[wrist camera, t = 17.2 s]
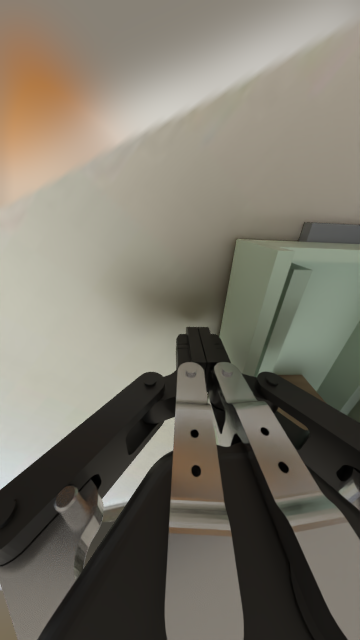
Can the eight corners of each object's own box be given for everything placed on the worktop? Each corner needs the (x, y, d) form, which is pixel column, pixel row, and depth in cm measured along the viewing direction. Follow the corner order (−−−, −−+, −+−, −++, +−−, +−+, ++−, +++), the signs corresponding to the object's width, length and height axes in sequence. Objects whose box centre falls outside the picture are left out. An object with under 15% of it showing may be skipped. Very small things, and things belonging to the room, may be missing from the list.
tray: (432, 247, 12) (578, 261, 8) (313, 422, 22) (349, 473, 18) (236, 239, 11) (278, 250, 7) (203, 425, 21) (212, 478, 17)
